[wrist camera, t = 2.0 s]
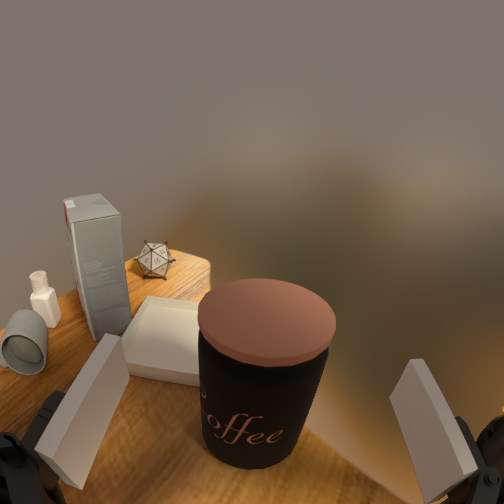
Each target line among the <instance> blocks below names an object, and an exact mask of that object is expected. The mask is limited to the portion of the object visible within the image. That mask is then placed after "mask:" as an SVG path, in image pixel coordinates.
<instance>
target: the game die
mask: <svg viewBox="0 0 504 504" xmlns="http://www.w3.org/2000/svg"><path fill="white" fill-rule="evenodd" d="M144 242H145V246H144V247H143V249H142V251H141V253H140V255H139V256H138V258H137V259H133V260H134V261H138V263H139V265H140V267H141V269H142V271H143V273H144V276H143V279H144V278H145V277H146V276H154V277H164V280H167V278H166V277H165V275H166V273H167V271H168V269H169V267H170V265H171V263H172V261H176V260H175V259H172V257H171V255H170V252H169V250H168V248H167V246H166V244H167V243H168V241H166V242H165V244H160V243H147V241H146V240H144Z"/></svg>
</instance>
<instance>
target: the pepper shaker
mask: <svg viewBox="0 0 504 504" xmlns="http://www.w3.org/2000/svg"><path fill="white" fill-rule="evenodd" d="M29 278H30V281H31V286H32V288H33V293H32V294H31V297H30V301H31V304H32V307H33V311H35V312H37V313H38V314H39V315H40V316H41V317H42V318H43V319H44V321H45V323H46V325H47V328H55V327H56V326H57V324H58V323H59V321H60V319H61V312H60V308H59V305H58V301H57V297H56V293H55V289H53V288H51V287H49V286H48V280H47V275H46V273H45V272H44V271H36V272H34V273H32V274H31V275H30V277H29Z"/></svg>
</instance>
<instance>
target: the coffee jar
mask: <svg viewBox="0 0 504 504" xmlns="http://www.w3.org/2000/svg"><path fill="white" fill-rule="evenodd" d="M197 319H198V326H199V332H198V362H199V383H200V400H201V415H202V429H203V437H204V440H205V442H206V444H207V447H208V449H209V450H210V451H211V452H212V453H213V454H214V455H215V456H216V457H217V458H218V459H220V460H221V461H223V462H225V463H227V464H229V465H231V466H233V467H238V468H242V469H247V470H250V469H264V468H267V467H270V466H272V465H275V464H278V463H280V462H281V461H282V460H283V459H285V458H286V457H287V456H288V455H290V453H291V452H292V450H293V448H294V447H295V445H296V443H297V441H298V438H299V436H300V433H301V431H302V428H303V426H304V423H305V420H306V418H307V415H308V413H309V410H310V407H311V405H312V402H313V399H314V396H315V393H316V391H317V388H318V385H319V382H320V379H321V376H322V373H323V370H324V367H325V364H326V360H327V357H328V345H329V343H330V341H331V339H332V337H333V335H334V332H335V330H336V321H335V314H334V313H333V311H332V309H331V308H330V306H329V305H328V304H327V303H326V302H325V301H324V300H323V299H322V298H320V297H319V296H318V295H317V294H315V293H313V292H311V291H309V290H307V289H305V288H303V287H301V286H298V285H295V284H291V283H288V282H285V281H278V280H271V279H251V278H250V279H243V280H235V281H231V282H228V283H225V284H222V285H219V286H217V287H215V288H214V289H212V290H211V291H209V292H208V293H206V294H205V296H204V297H203V298H202V300H201V301H200V303H199V305H198V315H197Z"/></svg>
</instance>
